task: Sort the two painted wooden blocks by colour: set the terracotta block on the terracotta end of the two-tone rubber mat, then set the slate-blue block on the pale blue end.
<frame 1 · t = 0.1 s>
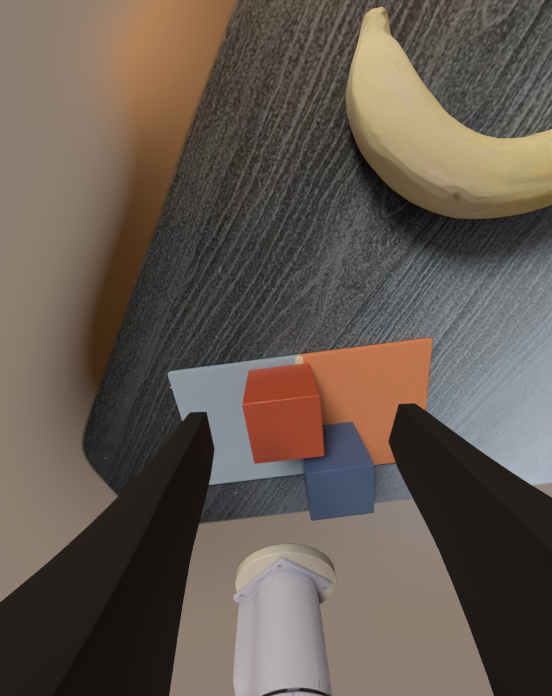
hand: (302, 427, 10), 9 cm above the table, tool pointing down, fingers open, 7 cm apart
terracotta block: (282, 392, 19), point 1 cm above the table, touching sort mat
fruit: (473, 133, 14), on the table
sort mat: (304, 416, 20), on the table
slate blue block: (326, 446, 21), point 1 cm above the table, touching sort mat
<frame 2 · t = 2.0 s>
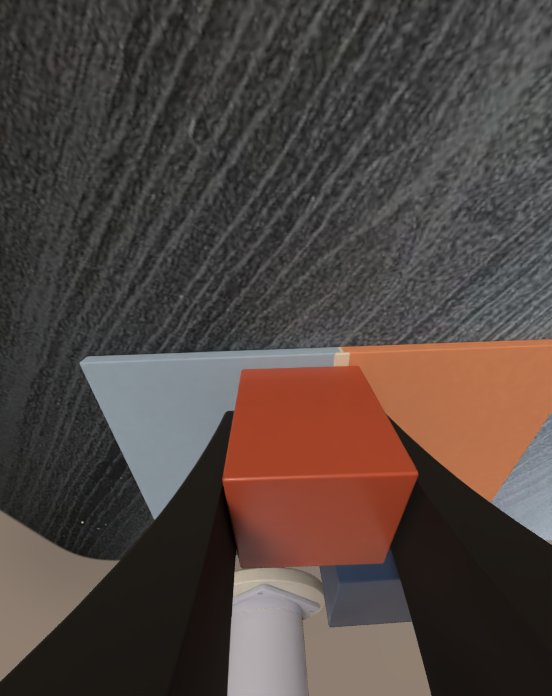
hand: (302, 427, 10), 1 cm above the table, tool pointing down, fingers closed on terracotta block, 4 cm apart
terracotta block: (299, 411, 10), point 1 cm above the table, touching gripper, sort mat
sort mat: (328, 445, 12), on the table
slate blue block: (355, 488, 13), point 1 cm above the table, touching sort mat
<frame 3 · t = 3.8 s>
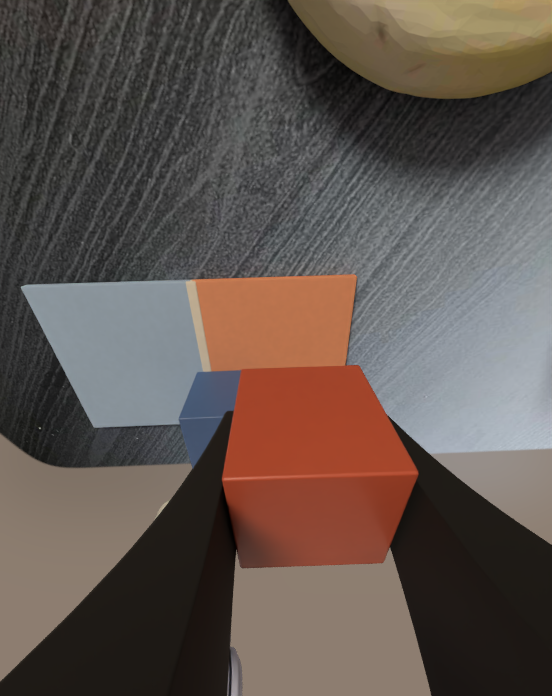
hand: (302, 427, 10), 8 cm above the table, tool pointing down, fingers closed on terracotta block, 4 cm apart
terracotta block: (299, 410, 10), point 7 cm above the table, touching gripper
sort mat: (207, 359, 17), on the table
slate blue block: (232, 395, 18), point 1 cm above the table, touching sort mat
when the fingers open (1 cm above the table, at t = 5.8 s): terracotta block stays where it is, resting on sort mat.
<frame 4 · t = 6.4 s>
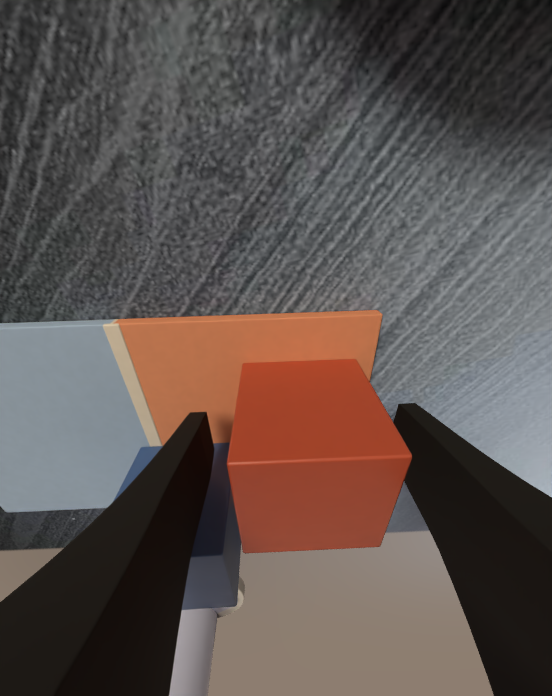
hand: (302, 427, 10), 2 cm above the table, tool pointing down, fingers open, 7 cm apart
terracotta block: (298, 403, 11), resting on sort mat
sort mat: (156, 427, 12), on the table
slate blue block: (196, 473, 13), point 1 cm above the table, touching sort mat
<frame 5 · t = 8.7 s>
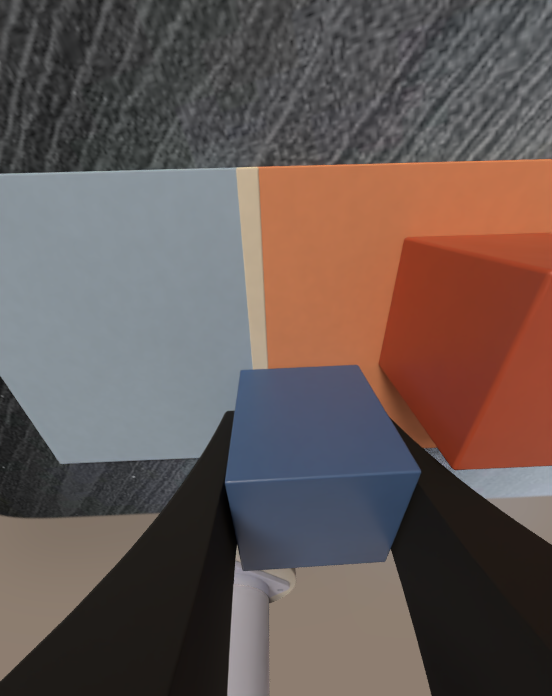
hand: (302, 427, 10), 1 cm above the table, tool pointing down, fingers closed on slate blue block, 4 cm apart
terracotta block: (454, 306, 8), resting on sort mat
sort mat: (259, 347, 10), on the table
slate blue block: (298, 411, 10), point 1 cm above the table, touching gripper, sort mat
when the fingers open (1 cm above the table, at t = 12.7 s): slate blue block stays where it is, resting on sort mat.
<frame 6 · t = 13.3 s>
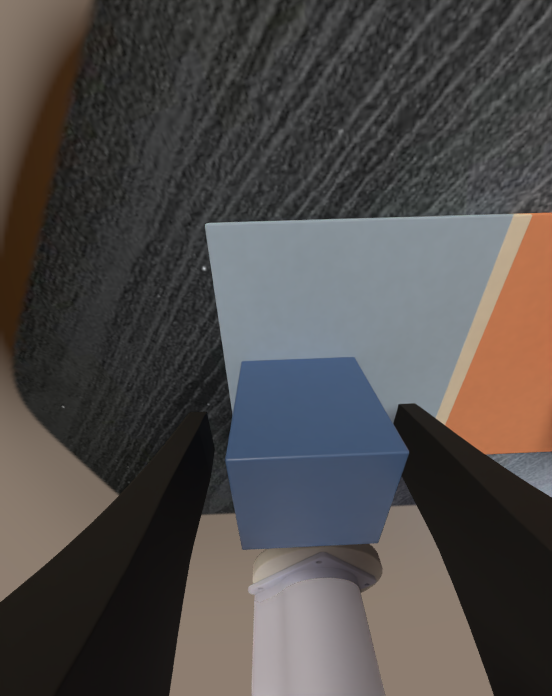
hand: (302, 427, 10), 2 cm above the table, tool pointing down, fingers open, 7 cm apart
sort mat: (453, 361, 11), on the table
slate blue block: (297, 402, 11), resting on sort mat
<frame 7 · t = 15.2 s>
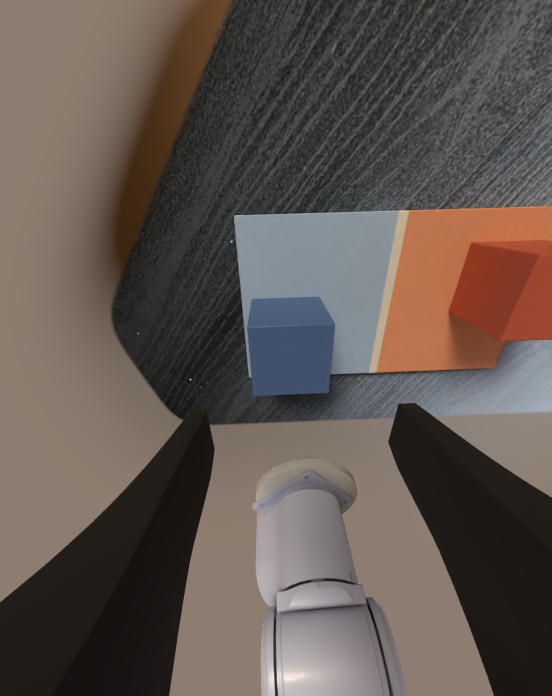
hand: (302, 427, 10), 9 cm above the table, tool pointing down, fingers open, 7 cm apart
terracotta block: (492, 278, 16), resting on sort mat
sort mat: (382, 302, 17), on the table
slate blue block: (285, 328, 17), resting on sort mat
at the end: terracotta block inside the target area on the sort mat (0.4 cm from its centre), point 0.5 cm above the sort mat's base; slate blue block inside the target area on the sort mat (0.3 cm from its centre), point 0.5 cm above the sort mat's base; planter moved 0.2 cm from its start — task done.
